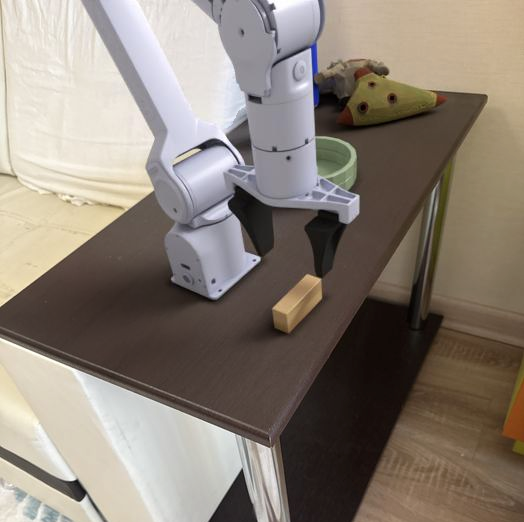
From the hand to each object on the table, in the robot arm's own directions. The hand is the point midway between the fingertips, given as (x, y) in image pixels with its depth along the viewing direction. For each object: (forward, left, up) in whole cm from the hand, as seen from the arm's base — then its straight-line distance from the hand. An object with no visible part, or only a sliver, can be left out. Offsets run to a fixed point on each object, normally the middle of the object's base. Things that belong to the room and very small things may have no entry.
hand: (294, 261), depth 56 cm
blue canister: (+51, +33, -8) cm, 61 cm away
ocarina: (+50, +14, -7) cm, 52 cm away
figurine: (+51, +23, -2) cm, 56 cm away
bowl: (+26, +16, -7) cm, 31 cm away
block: (0, 0, -7) cm, 7 cm away
